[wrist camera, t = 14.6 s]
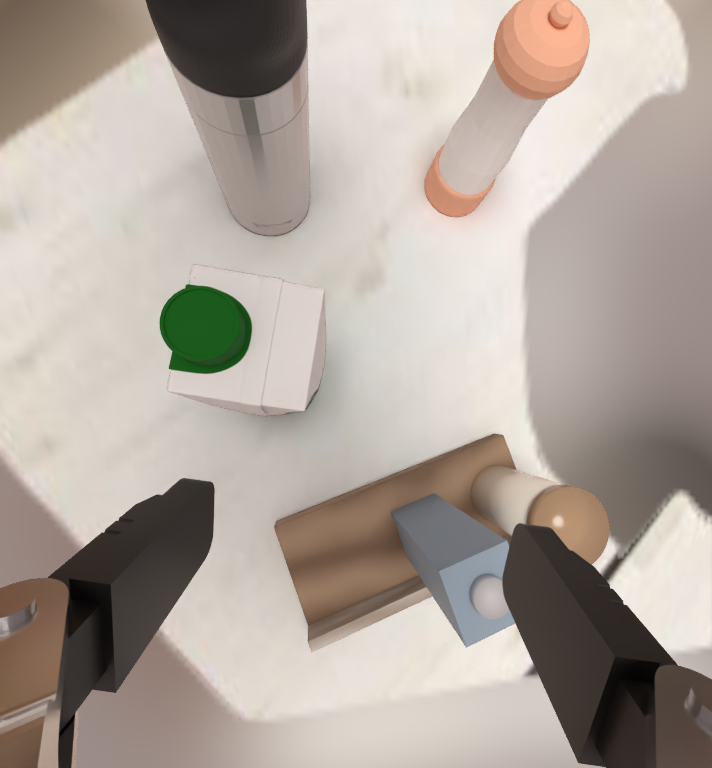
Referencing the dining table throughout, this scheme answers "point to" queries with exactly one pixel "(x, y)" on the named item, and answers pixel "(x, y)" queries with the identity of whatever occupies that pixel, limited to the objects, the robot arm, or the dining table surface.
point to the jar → (542, 508)
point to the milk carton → (245, 341)
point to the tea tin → (457, 565)
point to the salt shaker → (508, 100)
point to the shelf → (374, 542)
